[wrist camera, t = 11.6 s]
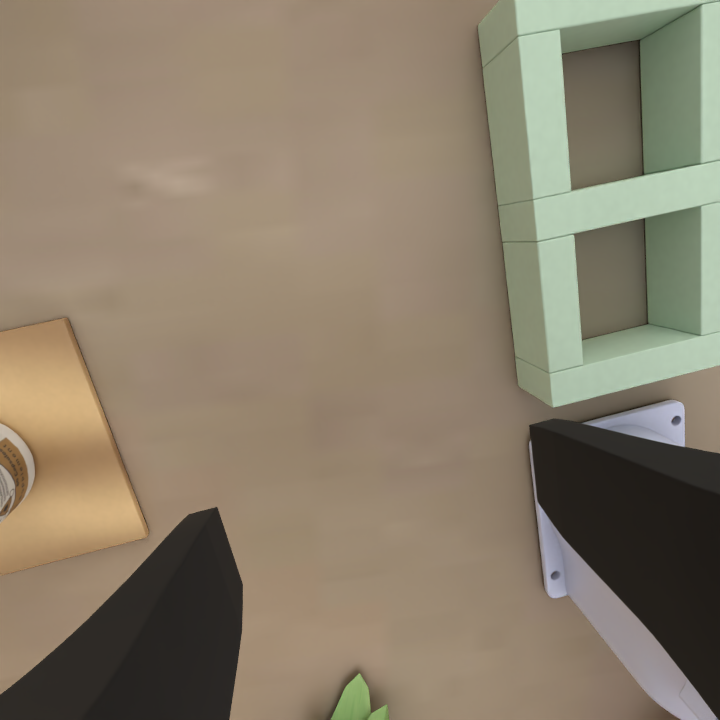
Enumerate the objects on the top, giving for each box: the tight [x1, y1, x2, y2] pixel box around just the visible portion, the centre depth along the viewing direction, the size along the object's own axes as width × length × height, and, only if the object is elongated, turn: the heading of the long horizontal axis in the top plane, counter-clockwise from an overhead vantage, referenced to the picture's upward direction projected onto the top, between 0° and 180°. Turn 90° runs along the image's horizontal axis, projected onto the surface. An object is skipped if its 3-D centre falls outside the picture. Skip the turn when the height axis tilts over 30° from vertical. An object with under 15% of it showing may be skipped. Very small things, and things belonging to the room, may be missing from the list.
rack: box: [478, 0, 720, 408], centre depth 19 cm, size 15×8×3 cm, turn 12°
